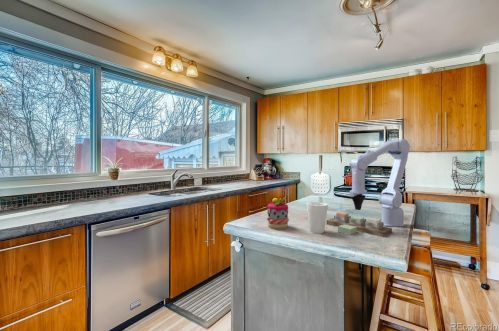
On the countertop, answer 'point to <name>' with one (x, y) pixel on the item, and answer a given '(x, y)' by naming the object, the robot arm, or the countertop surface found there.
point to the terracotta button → (342, 214)
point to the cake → (278, 214)
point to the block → (347, 229)
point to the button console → (361, 225)
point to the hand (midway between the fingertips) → (358, 209)
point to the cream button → (374, 220)
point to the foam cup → (317, 216)
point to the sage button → (357, 218)
